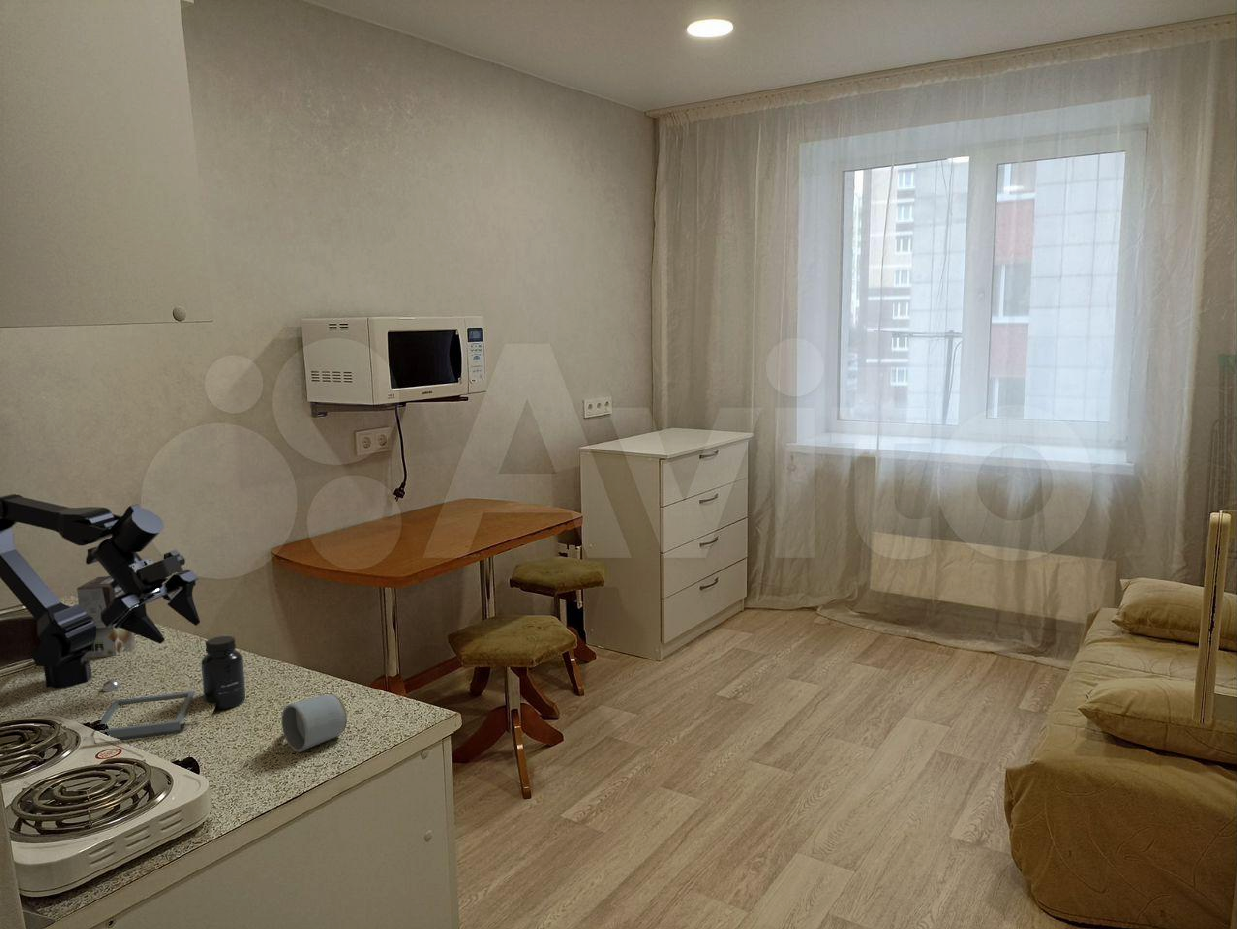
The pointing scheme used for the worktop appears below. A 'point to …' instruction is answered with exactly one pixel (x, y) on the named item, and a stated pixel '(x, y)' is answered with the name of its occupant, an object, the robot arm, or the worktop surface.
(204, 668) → the supplement bottle
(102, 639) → the coffee box
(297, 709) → the ceramic mug
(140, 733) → the tray
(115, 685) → the mixing ball
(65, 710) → the worktop surface
